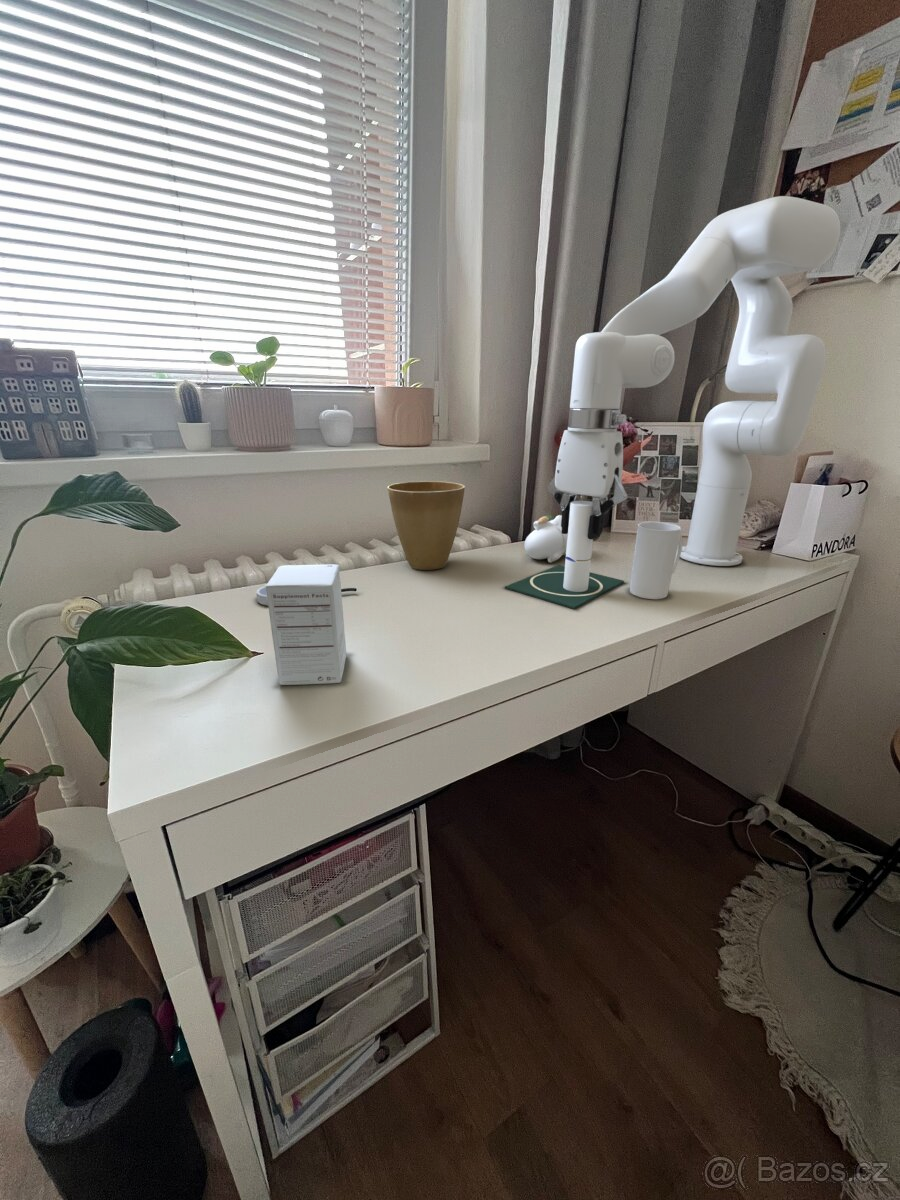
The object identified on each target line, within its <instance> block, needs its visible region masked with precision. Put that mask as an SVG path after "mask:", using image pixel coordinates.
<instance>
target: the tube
mask: <svg viewBox="0 0 900 1200" xmlns="http://www.w3.org/2000/svg"><path fill="white" fill-rule="evenodd" d="M591 515H593V501H590V500H575V501H572V502H571V503H570V514H569V526H568V537H567V548H566V554H565V562H564V566H565V571H564V583H563V588H564V589H566V590H569V591H573V592H582V591H586V590H587V589H588V583H589V573H591V563H592V553H593V546H594V545H593V544H594V539H588V529H589V520H590V516H591Z"/></svg>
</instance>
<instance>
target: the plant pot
mask: <svg viewBox="0 0 900 1200" xmlns="http://www.w3.org/2000/svg"><path fill="white" fill-rule="evenodd" d="M465 488H466V486H465V485H464V484H461V483H457V482H451V481H436V480H435V481H434V480H433V481H431V480H430V481H429V480H424V481H423V480H422V481H421V480H420V481H404V482H397V483H392V484H389V485H388V486H387V492H388V499H389V503H390V508H391V513H392V518H393V521H394V525H395V529H396V532H397V536H398V538H399V542H400V545H401V548H402V551H403V552H404V555H405V558H406V560H407V564H408V565H409V567H411V568H412V569H414V570H415V569H416V570H421V571H433V570H440V569H442V568H444V567H446V564H447V562H448V559H449V557H450V555H451V551H452V548H453V545H454V543H455V539H456V535H457V531H458V527H459V523H460V519H461V514H462V509H463V504H464V503H463V502H464V495H465Z"/></svg>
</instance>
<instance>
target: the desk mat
mask: <svg viewBox="0 0 900 1200" xmlns="http://www.w3.org/2000/svg"><path fill="white" fill-rule="evenodd" d="M564 571H565V565H561V564H558V565H555V566H553V567H550V568H548V569H544V570H543V571H540V572H537V573H535V574H533V575H530V576H527V577H525V578H523V579H520V580H518V581H515V582H512V583H510V584H508V585H505V586H504V589H506V590H509V591H513V592H516V593H518V594H521V595H526V596H529V597H532V598H536V599H538V600H542V601H545V602H548V603H551V604H555V605H558V606H561V607H565V608H568V609H571V610H575V609H577V608H580V607H582V606H583V605H585V604H587V603H588V602H591V601H593V600H594V599H596V598H598V597H600V596H602V595H603V594H606V593H607V592H609V591H611V590H614V589H615V588H617V587H619V586H620V585H622V584H624V583H625V580H623V579H619V578H615V577H611V576H606V575H602V574H600V573H599V574H598V573H595V572H590V573H589V583H588V589H587V590H586V591H582V592H573V591H569V590H566V589H564V588H563V583H564Z"/></svg>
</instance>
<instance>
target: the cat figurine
mask: <svg viewBox="0 0 900 1200" xmlns="http://www.w3.org/2000/svg"><path fill="white" fill-rule="evenodd" d="M561 519H562V514H558V515H556V516H555V518H554V519H552V515H551V514H550V515H549V514H547V515H543V516H541V517H540V518H539V519H538V520H535V521H534V522H533V524H532V525H533V528H534V530H533V531H531V532H530V533H529V534H528V535H527V536H526V538H525V540H524V545H523V546H524V551H525V553H526V554H527V555H528V557H530V558H532V559H534V560H546V559H547V562H548V563H550V564H551V563H554V562H556V561H558V560H559V559H560V558H561V557H562V556H564V555H566V548H567V537H568V533H567V534H562V527H561Z"/></svg>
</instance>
